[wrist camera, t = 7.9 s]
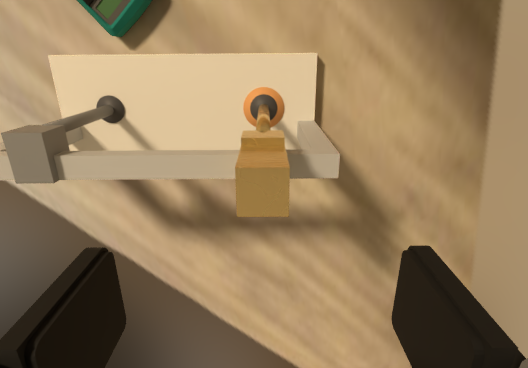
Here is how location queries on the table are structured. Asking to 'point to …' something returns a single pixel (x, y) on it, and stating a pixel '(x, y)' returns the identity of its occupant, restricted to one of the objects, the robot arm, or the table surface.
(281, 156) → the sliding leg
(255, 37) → the table surface
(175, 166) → the white rack frame
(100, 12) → the digital multimeter
